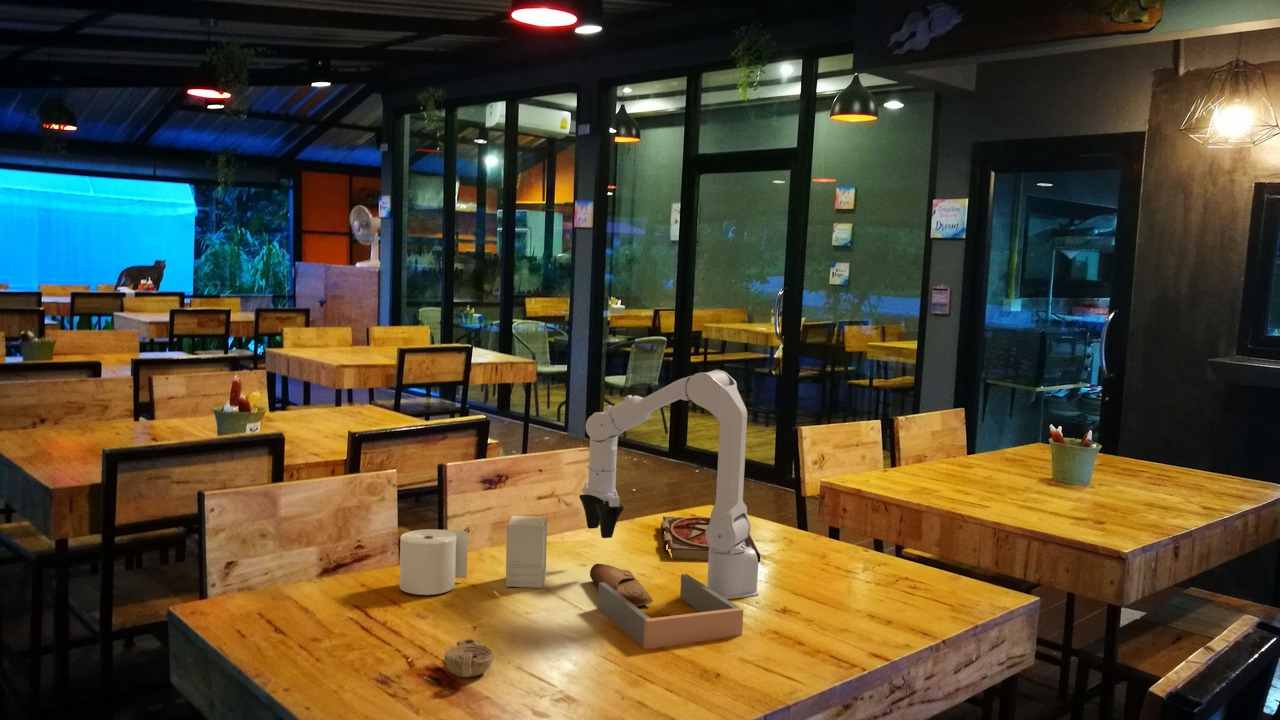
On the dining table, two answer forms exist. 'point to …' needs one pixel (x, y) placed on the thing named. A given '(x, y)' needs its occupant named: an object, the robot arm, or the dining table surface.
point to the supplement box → (526, 551)
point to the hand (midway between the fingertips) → (599, 532)
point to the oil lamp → (468, 658)
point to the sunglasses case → (621, 583)
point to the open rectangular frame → (672, 630)
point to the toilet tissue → (432, 560)
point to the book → (690, 537)
